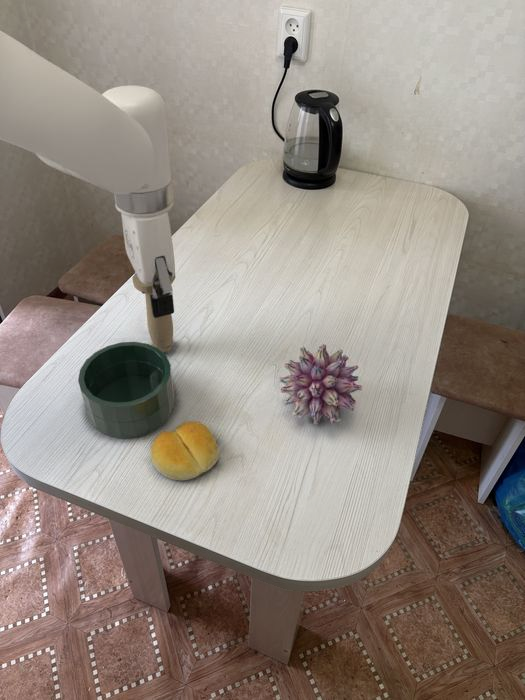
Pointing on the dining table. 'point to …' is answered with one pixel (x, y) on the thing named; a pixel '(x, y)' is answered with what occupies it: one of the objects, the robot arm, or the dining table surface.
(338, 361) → the flower
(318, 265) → the dining table surface
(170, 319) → the handle
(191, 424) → the bread roll
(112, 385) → the pot
